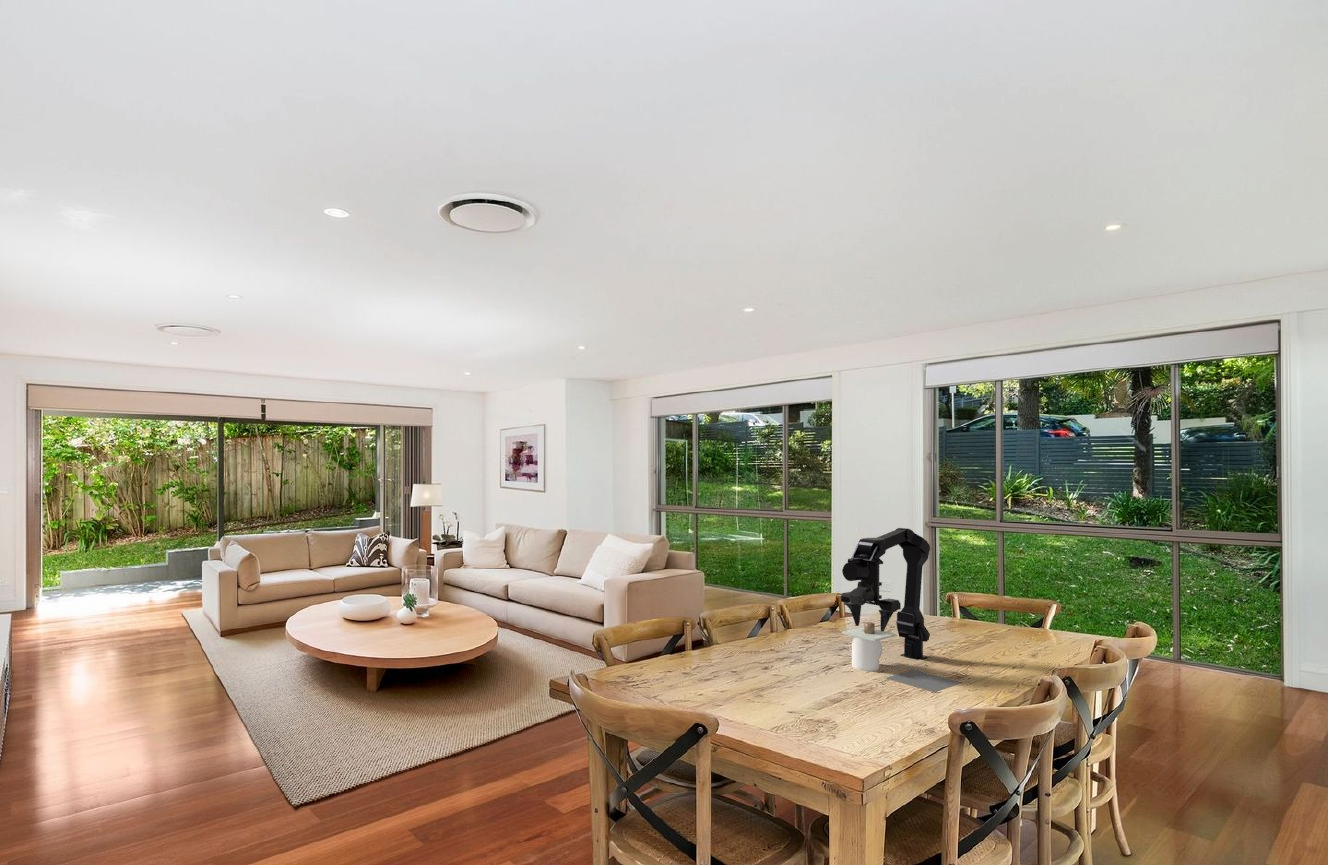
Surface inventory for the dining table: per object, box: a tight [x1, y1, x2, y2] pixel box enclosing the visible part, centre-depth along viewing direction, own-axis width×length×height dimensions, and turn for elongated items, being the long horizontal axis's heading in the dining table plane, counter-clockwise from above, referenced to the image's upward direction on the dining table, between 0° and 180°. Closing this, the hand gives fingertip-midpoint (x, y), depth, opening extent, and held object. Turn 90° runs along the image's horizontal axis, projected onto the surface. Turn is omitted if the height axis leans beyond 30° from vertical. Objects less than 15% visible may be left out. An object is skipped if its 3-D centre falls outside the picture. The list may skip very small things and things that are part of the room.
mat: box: [885, 669, 964, 693], centre depth 203 cm, size 16×16×1 cm
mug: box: [851, 636, 883, 672], centre depth 216 cm, size 12×8×10 cm
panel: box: [841, 621, 898, 641], centre depth 217 cm, size 12×12×4 cm
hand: (869, 628), depth 217 cm, fingers open, 9 cm apart
